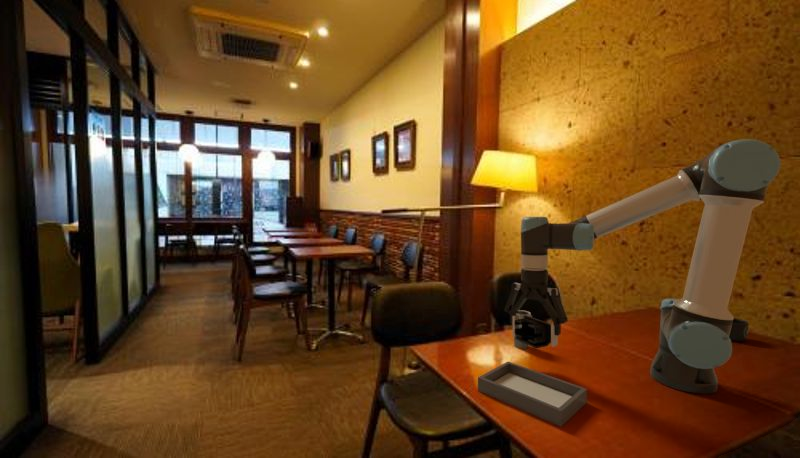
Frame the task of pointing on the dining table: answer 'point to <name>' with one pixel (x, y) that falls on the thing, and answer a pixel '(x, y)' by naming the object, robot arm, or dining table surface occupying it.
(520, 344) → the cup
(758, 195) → the robot arm
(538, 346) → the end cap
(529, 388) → the shallow grey tray
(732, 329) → the mug
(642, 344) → the dining table surface
